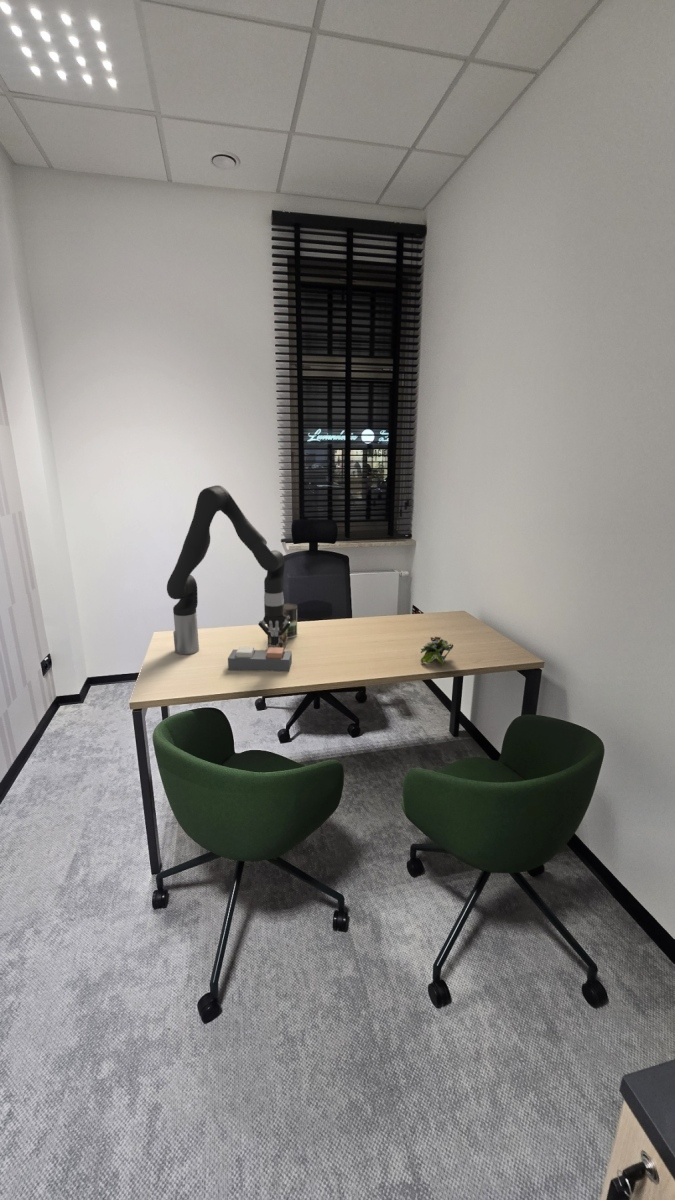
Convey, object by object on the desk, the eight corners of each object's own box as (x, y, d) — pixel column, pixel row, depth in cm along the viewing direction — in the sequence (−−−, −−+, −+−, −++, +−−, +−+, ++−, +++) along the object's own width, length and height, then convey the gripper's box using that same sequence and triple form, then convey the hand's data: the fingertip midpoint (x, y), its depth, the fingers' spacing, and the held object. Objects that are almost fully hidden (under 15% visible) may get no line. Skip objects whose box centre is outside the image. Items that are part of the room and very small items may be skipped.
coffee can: (292, 639, 222) (292, 610, 218) (272, 637, 225) (271, 608, 221) (300, 632, 232) (300, 604, 228) (281, 629, 234) (280, 602, 230)
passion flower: (432, 671, 206) (447, 643, 207) (448, 678, 195) (464, 649, 196) (410, 657, 202) (426, 629, 203) (425, 663, 191) (441, 634, 192)
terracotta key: (266, 660, 190) (266, 653, 189) (269, 654, 196) (268, 647, 195) (281, 660, 190) (281, 653, 189) (283, 654, 195) (283, 647, 195)
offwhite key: (236, 659, 190) (236, 652, 189) (239, 653, 196) (239, 646, 195) (251, 659, 190) (251, 652, 189) (254, 653, 196) (254, 646, 195)
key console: (228, 670, 190) (227, 658, 188) (233, 660, 198) (233, 649, 197) (289, 671, 189) (289, 659, 188) (291, 662, 198) (291, 650, 197)
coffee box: (281, 652, 208) (280, 616, 203) (267, 650, 209) (266, 615, 205) (287, 644, 217) (287, 610, 212) (274, 643, 218) (273, 609, 213)
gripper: (255, 605, 183) (256, 647, 188) (289, 605, 182) (290, 648, 187) (258, 599, 190) (260, 640, 195) (292, 600, 189) (292, 641, 194)
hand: (275, 644), depth 191 cm, fingers closed
